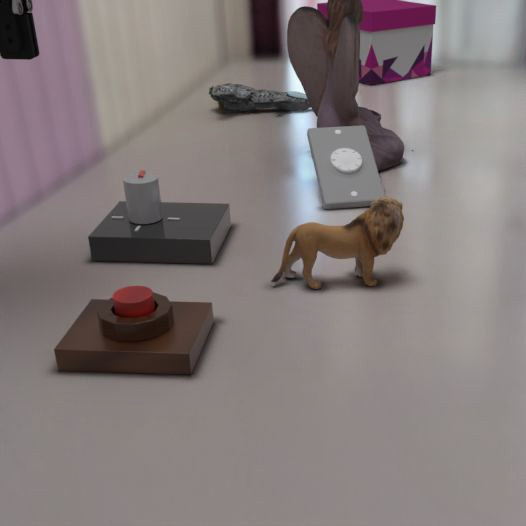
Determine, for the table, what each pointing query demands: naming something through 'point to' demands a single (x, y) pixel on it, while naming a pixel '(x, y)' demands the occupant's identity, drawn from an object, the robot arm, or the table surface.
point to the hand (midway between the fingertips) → (20, 57)
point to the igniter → (136, 338)
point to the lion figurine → (345, 241)
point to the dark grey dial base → (163, 235)
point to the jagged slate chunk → (256, 98)
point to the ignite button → (133, 302)
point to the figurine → (337, 73)
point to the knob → (142, 198)
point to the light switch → (344, 166)
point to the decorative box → (394, 40)
